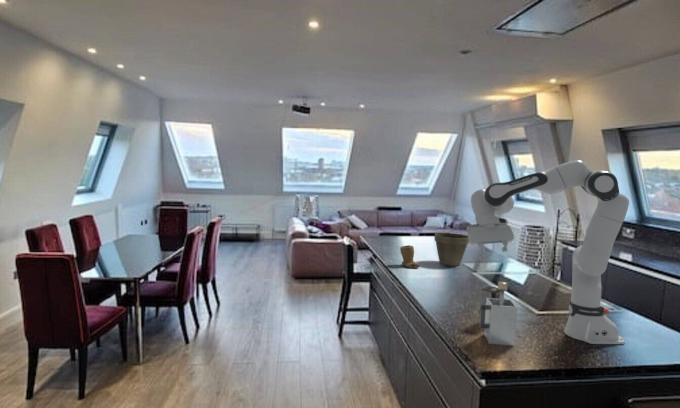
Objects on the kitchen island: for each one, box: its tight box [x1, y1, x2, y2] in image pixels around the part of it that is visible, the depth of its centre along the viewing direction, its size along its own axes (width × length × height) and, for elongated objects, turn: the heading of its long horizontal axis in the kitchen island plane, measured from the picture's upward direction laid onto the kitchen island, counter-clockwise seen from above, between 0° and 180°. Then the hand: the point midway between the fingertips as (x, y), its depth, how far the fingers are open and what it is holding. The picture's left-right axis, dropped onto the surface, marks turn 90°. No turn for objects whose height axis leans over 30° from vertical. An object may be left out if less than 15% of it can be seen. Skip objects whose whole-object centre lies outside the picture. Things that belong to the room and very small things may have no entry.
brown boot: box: [399, 244, 421, 269], centre depth 309 cm, size 15×12×15 cm
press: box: [478, 298, 518, 347], centre depth 180 cm, size 13×10×16 cm
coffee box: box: [478, 285, 500, 325], centre depth 200 cm, size 9×6×16 cm
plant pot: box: [434, 232, 470, 267], centre depth 322 cm, size 25×25×22 cm
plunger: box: [497, 281, 508, 306], centre depth 180 cm, size 8×8×22 cm
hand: (495, 252), depth 191 cm, fingers open, 8 cm apart
